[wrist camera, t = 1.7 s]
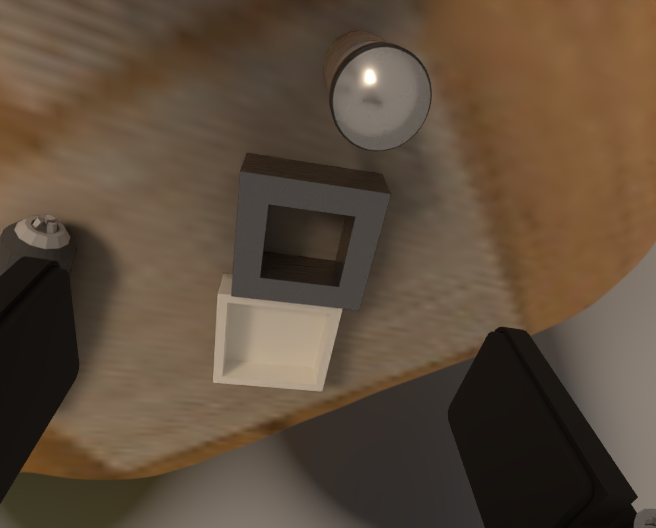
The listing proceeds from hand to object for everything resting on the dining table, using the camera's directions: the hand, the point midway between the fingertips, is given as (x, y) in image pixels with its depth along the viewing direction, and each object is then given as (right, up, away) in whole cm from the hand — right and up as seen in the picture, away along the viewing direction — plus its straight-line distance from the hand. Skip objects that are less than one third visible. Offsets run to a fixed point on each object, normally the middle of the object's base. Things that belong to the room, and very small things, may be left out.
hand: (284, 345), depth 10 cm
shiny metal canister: (+3, +13, +15) cm, 20 cm away
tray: (-3, -3, +25) cm, 26 cm away
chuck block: (-1, +5, +21) cm, 21 cm away
